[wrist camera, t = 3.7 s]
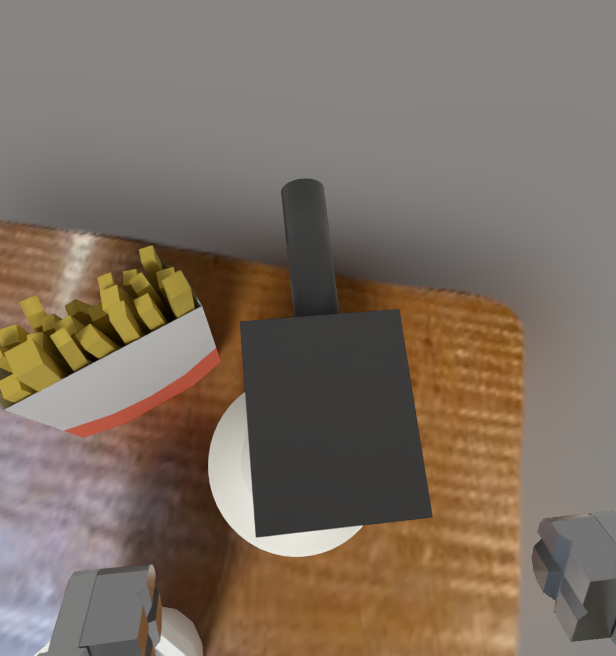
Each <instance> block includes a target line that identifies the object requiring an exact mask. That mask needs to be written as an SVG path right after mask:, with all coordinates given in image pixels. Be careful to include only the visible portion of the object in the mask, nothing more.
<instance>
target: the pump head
mask: <svg viewBox="0 0 616 656" xmlns="http://www.w3.org/2000/svg"><path fill="white" fill-rule="evenodd" d="M281 194H282V204H283V214H284V223H285V233H286V243H287V253H288V262H289V272H290V282H291V292H292V301H293V311H294V317H292V318H279V319H266V320H253V321H240V330H241V344H242V358H243V371H244V385H245V399H246V413H247V426H248V440H249V454H250V467H251V481H252V495H253V508H254V522H255V536H256V538H258V537H267V536H276V535H284V534H293V533H302V532H310V531H319V530H328V529H336V528H345V527H353V526H362V525H371V524H379V523H388V522H397V521H405V520H414V519H423V518H431V517H432V510H431V504H430V498H429V492H428V485H427V479H426V473H425V467H424V460H423V454H422V448H421V442H420V435H419V429H418V423H417V417H416V411H415V404H414V398H413V392H412V386H411V379H410V373H409V367H408V361H407V354H406V348H405V342H404V336H403V329H402V323H401V317H400V311H399V309H394V310H381V311H368V312H356V313H343V314H340V313H339V305H338V297H337V290H336V282H335V274H334V266H333V259H332V251H331V243H330V235H329V227H328V219H327V211H326V204H325V196H324V188H323V185H322V184H321V183H320V182H319V181H316V180H313V179H298V180H294V181H291V182H289V183H287V184H286V185H285V186H284V187H283V188H282V191H281Z"/></svg>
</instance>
